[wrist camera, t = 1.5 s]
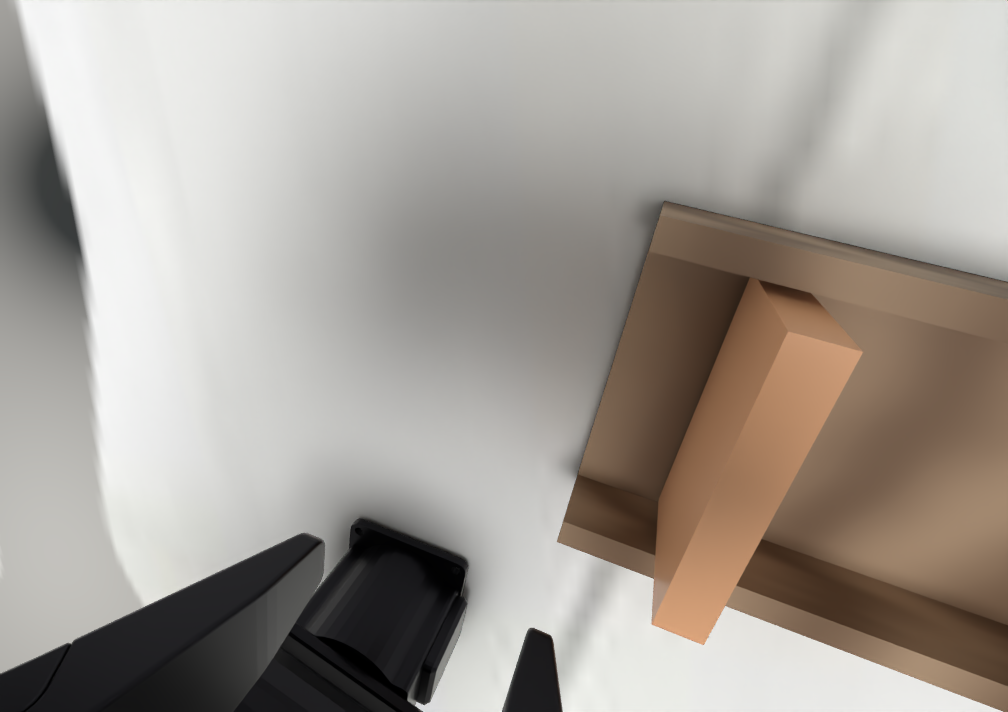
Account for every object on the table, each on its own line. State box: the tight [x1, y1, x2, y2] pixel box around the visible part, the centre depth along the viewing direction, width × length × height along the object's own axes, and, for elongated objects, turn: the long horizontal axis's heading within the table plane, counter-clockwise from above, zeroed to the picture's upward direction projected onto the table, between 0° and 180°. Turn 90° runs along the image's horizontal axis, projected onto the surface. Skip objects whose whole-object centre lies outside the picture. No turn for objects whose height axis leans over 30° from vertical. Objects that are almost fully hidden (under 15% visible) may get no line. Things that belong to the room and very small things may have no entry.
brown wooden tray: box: [557, 201, 1008, 712], centre depth 17 cm, size 18×12×4 cm, turn 79°
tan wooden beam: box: [652, 277, 863, 645], centre depth 16 cm, size 2×9×6 cm, turn 169°
